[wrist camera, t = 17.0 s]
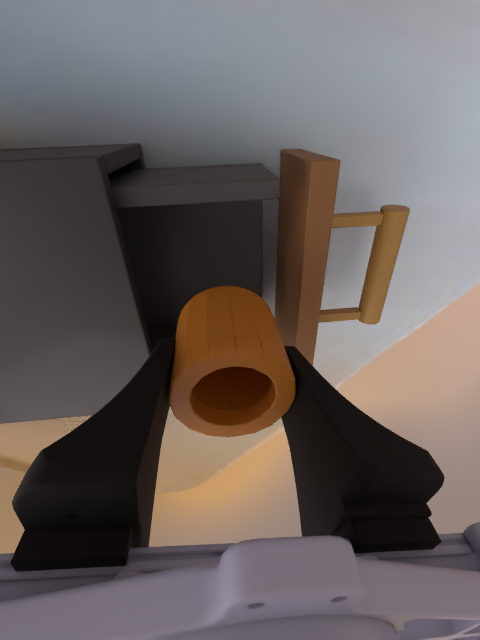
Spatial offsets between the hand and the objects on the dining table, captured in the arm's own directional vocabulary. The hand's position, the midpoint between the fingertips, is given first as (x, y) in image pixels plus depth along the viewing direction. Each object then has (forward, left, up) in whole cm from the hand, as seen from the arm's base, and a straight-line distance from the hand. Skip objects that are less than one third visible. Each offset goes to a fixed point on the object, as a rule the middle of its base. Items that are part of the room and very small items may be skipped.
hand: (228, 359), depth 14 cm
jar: (0, 0, -2) cm, 2 cm away
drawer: (-2, +1, -9) cm, 9 cm away
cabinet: (-2, -11, -10) cm, 15 cm away
